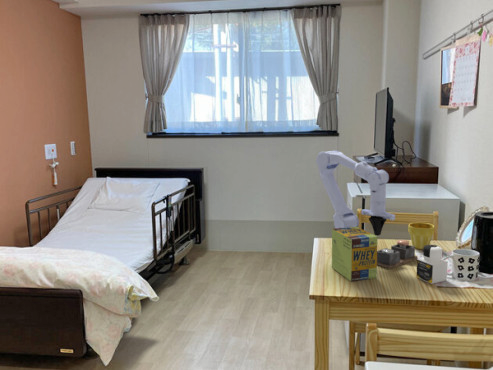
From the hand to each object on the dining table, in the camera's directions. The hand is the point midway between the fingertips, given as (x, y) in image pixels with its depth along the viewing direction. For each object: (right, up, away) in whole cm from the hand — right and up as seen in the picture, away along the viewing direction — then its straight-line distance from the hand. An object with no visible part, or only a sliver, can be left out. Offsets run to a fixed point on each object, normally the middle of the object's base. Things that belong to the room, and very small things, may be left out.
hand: (377, 234), depth 170 cm
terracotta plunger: (+11, -7, +2) cm, 13 cm away
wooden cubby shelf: (+7, -10, 0) cm, 12 cm away
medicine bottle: (+13, -14, -19) cm, 27 cm away
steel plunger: (+3, -10, -3) cm, 10 cm away
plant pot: (+24, -7, +16) cm, 30 cm away
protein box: (-12, -13, -11) cm, 21 cm away
